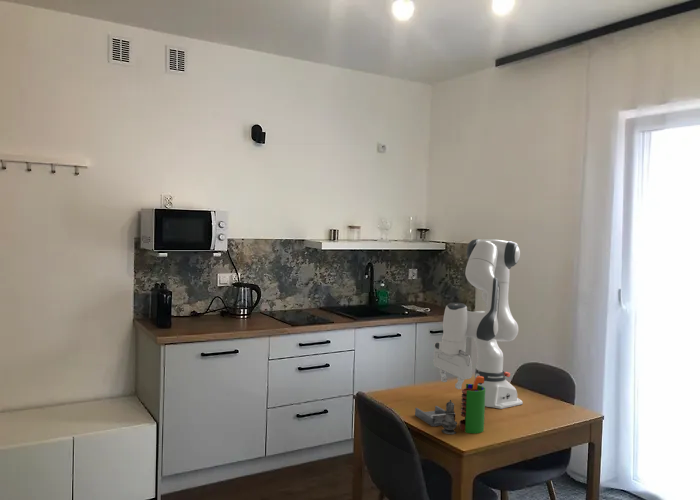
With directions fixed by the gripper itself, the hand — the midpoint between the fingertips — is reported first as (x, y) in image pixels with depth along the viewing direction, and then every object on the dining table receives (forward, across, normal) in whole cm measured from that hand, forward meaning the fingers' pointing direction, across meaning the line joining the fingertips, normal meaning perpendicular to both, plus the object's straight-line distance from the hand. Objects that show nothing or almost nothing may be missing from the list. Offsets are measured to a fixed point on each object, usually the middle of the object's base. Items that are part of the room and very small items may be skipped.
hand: (450, 385), depth 212 cm
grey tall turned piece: (+18, 0, 0) cm, 18 cm away
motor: (+18, 0, -11) cm, 21 cm away
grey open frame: (+17, +13, -2) cm, 22 cm away
